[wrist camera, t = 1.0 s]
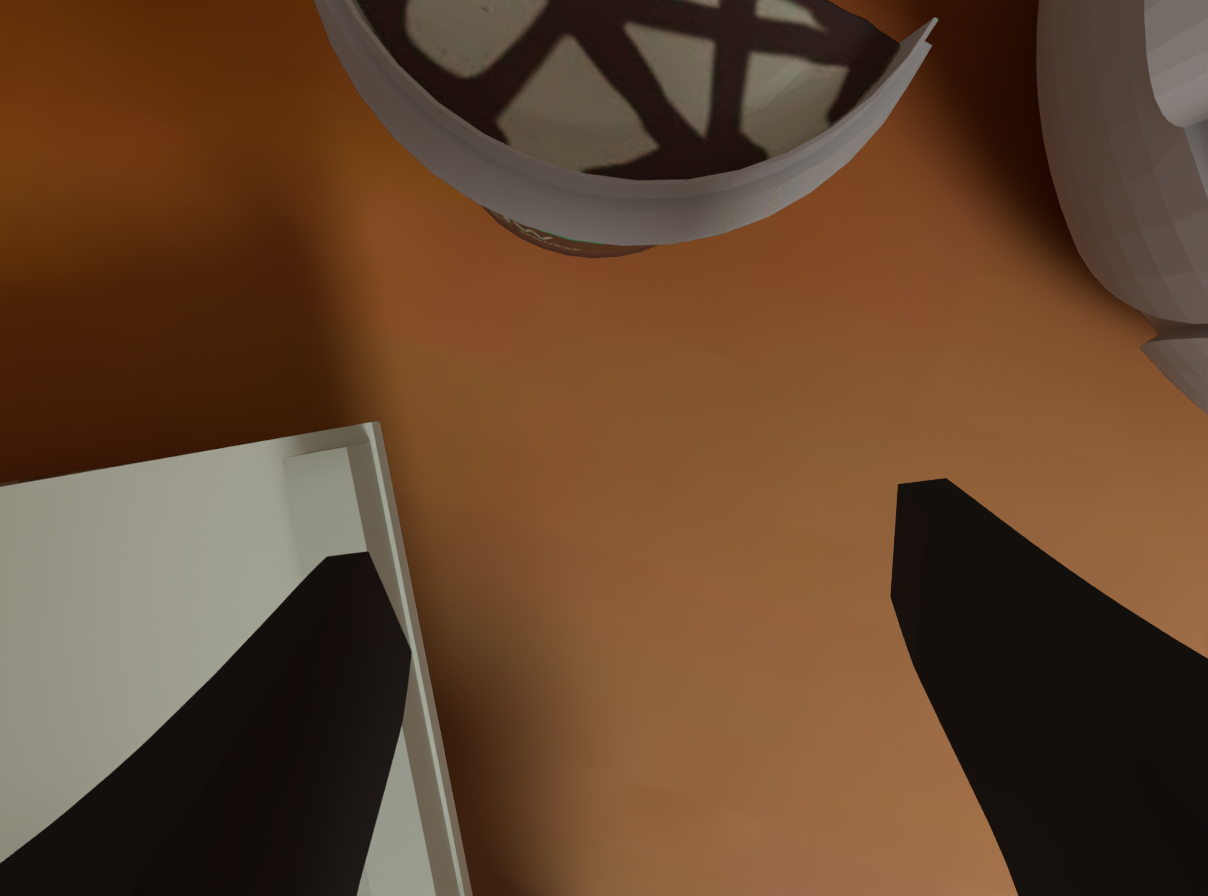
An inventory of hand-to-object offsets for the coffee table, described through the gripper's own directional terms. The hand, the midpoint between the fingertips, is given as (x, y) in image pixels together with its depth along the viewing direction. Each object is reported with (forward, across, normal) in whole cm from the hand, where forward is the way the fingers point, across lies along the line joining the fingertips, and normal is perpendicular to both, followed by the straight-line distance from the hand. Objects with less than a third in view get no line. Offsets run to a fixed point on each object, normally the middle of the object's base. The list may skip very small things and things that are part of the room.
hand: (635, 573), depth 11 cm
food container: (+15, +2, -2) cm, 15 cm away
